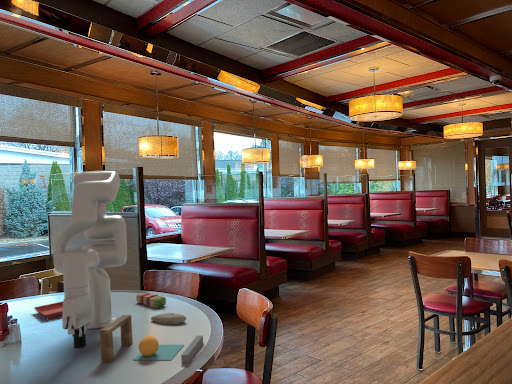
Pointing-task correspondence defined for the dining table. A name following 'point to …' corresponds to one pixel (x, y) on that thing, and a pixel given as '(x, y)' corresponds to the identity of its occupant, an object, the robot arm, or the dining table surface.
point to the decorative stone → (169, 318)
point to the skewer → (151, 300)
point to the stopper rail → (191, 349)
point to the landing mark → (162, 353)
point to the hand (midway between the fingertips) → (80, 347)
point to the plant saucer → (51, 310)
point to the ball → (148, 346)
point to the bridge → (107, 336)
